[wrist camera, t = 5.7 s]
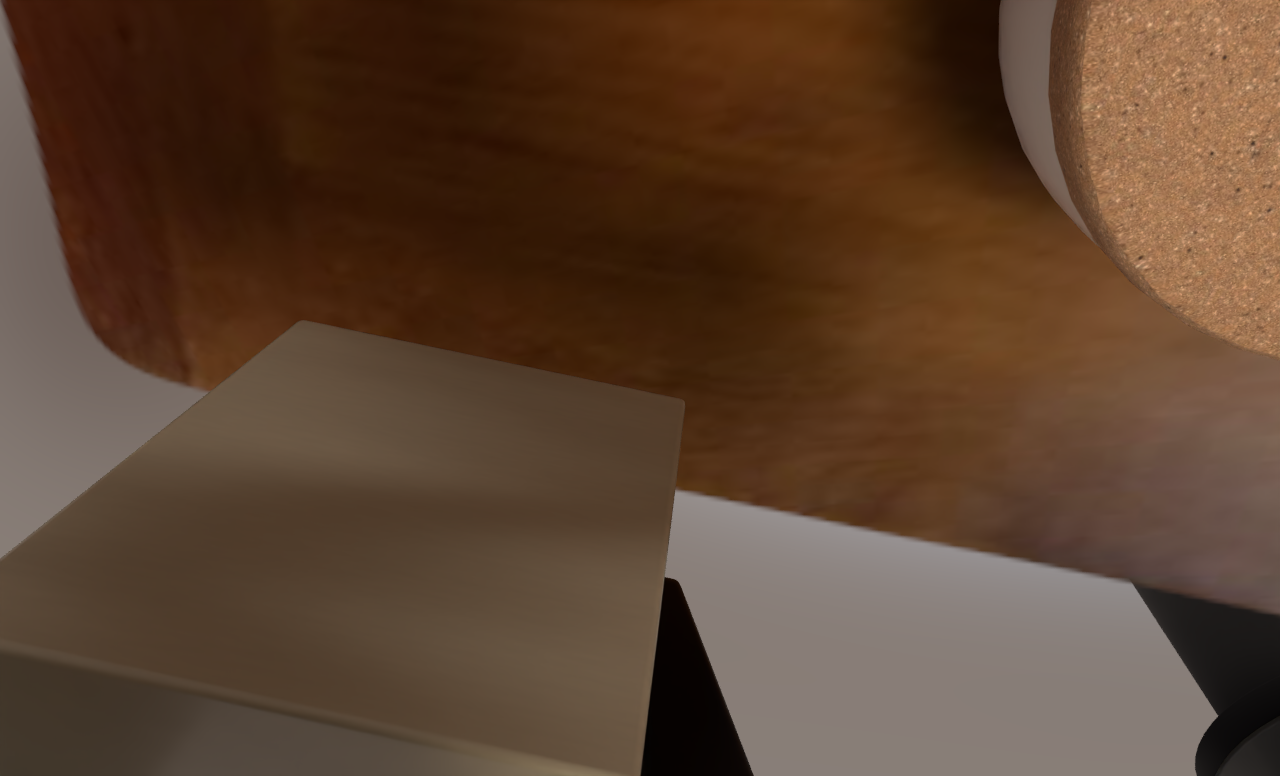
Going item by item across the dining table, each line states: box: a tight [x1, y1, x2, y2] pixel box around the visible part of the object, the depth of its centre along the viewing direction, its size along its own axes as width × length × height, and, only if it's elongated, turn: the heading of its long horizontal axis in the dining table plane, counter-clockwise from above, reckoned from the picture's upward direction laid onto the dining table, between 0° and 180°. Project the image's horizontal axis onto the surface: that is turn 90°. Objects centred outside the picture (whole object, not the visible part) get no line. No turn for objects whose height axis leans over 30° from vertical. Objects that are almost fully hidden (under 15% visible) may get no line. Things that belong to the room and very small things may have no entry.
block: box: [0, 320, 685, 776], centre depth 8 cm, size 5×5×5 cm
